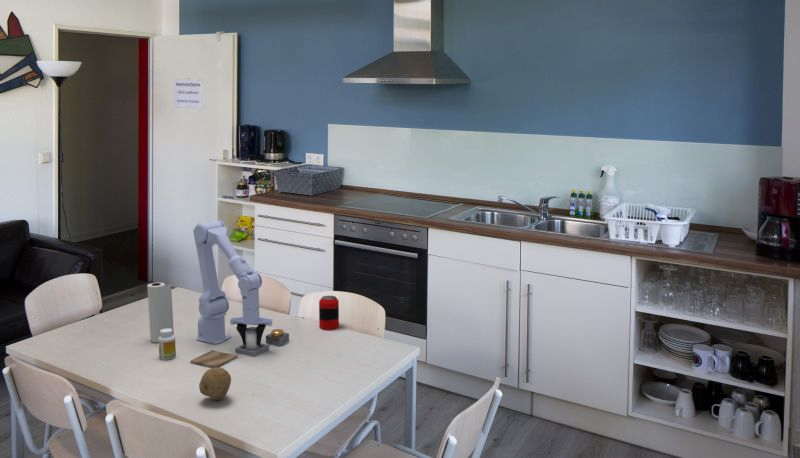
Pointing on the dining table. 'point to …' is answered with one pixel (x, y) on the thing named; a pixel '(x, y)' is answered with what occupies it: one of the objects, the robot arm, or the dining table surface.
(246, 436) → the dining table surface
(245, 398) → the dining table surface
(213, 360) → the pad
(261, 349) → the collar
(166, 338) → the supplement bottle
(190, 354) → the dining table surface
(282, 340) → the plunger base
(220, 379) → the potato
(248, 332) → the cylinder
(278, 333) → the plunger
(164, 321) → the paper towel roll
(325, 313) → the soda can
